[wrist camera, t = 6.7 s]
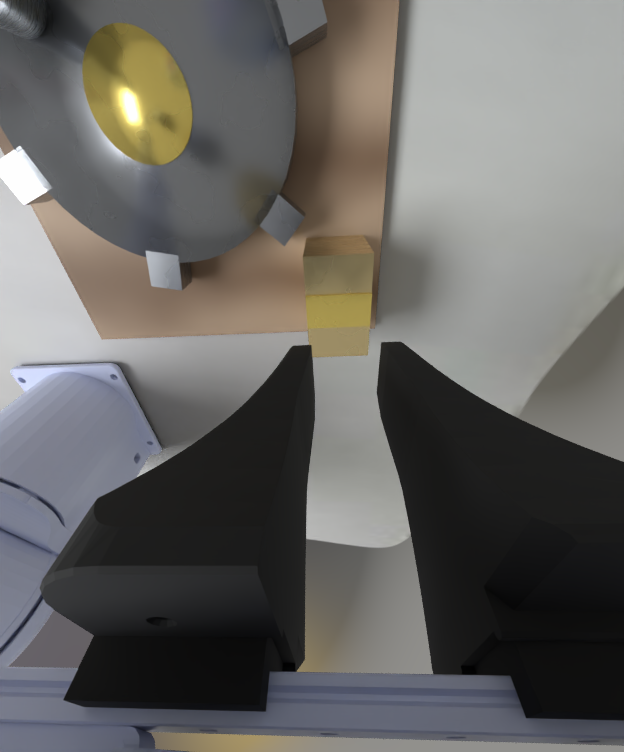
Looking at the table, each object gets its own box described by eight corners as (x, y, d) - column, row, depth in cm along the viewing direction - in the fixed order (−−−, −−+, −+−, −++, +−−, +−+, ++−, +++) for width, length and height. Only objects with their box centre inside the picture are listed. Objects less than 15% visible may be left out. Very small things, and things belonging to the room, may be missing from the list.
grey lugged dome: (396, 81, 12) (446, 26, 7) (231, 321, 18) (200, 377, 14) (-40, -462, 7) (-861, -1896, 2) (-59, 131, 13) (-274, 112, 8)
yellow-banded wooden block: (359, 321, 19) (368, 356, 15) (311, 323, 19) (309, 358, 15) (362, 234, 16) (374, 253, 12) (306, 238, 16) (302, 257, 12)
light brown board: (373, 324, 19) (374, 328, 19) (106, 335, 20) (101, 339, 20) (424, -388, 8) (430, -420, 7) (-214, -286, 8) (-241, -308, 8)
